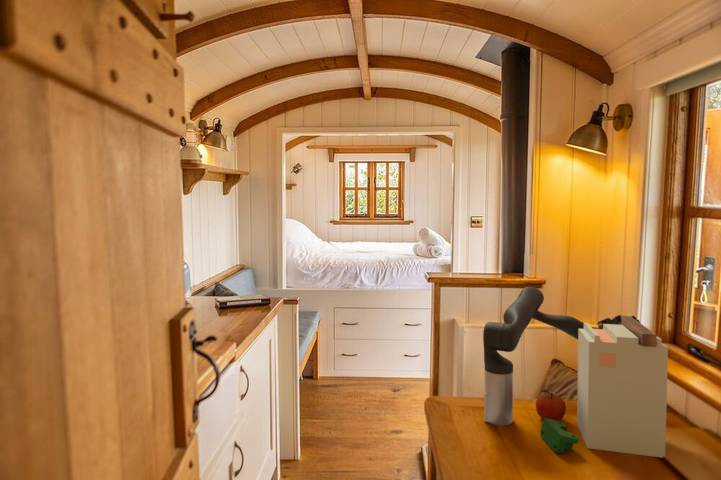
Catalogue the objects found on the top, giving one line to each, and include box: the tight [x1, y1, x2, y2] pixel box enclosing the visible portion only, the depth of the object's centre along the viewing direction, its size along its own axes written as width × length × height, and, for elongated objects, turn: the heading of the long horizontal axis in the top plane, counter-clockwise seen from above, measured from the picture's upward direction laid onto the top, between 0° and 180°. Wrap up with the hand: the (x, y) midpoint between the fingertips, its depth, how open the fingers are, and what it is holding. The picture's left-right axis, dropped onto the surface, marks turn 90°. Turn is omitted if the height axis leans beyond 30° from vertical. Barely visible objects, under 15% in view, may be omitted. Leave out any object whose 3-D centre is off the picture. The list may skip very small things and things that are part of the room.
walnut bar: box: [618, 315, 658, 347], centre depth 134 cm, size 4×24×4 cm, turn 164°
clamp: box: [539, 418, 580, 454], centre depth 131 cm, size 12×6×9 cm, turn 175°
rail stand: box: [576, 322, 669, 459], centre depth 133 cm, size 20×16×34 cm
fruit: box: [535, 389, 567, 422], centre depth 148 cm, size 10×10×10 cm
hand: (626, 318), depth 143 cm, fingers closed on walnut bar, 3 cm apart
